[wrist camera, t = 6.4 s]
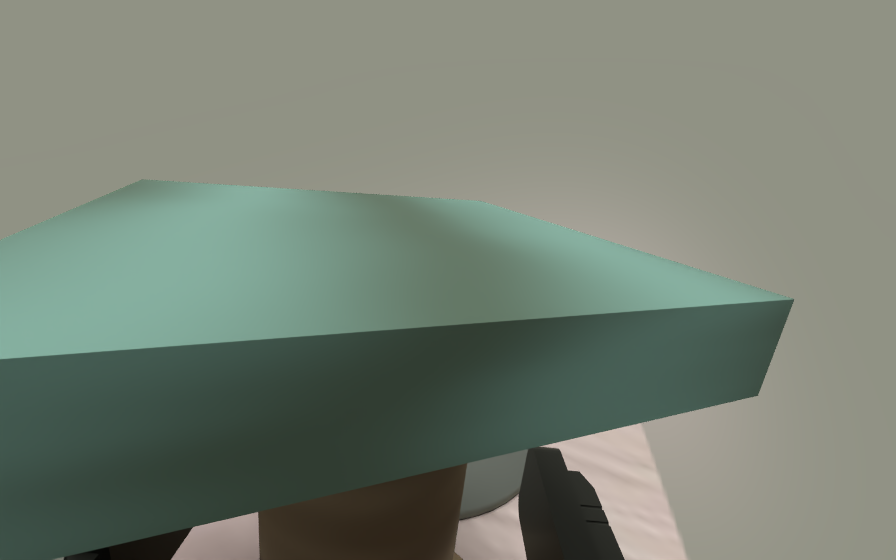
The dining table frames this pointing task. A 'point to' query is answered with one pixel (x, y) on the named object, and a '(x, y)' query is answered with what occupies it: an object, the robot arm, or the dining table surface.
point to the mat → (491, 483)
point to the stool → (328, 362)
